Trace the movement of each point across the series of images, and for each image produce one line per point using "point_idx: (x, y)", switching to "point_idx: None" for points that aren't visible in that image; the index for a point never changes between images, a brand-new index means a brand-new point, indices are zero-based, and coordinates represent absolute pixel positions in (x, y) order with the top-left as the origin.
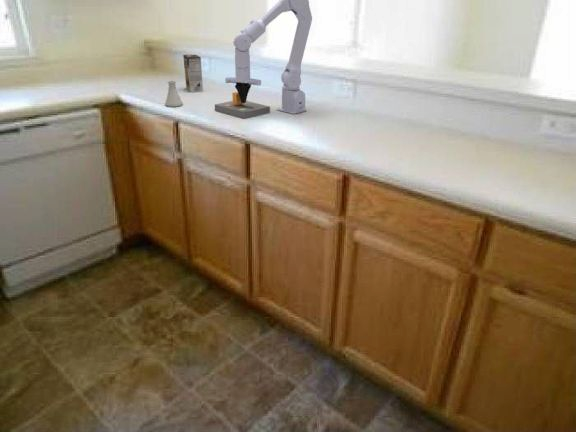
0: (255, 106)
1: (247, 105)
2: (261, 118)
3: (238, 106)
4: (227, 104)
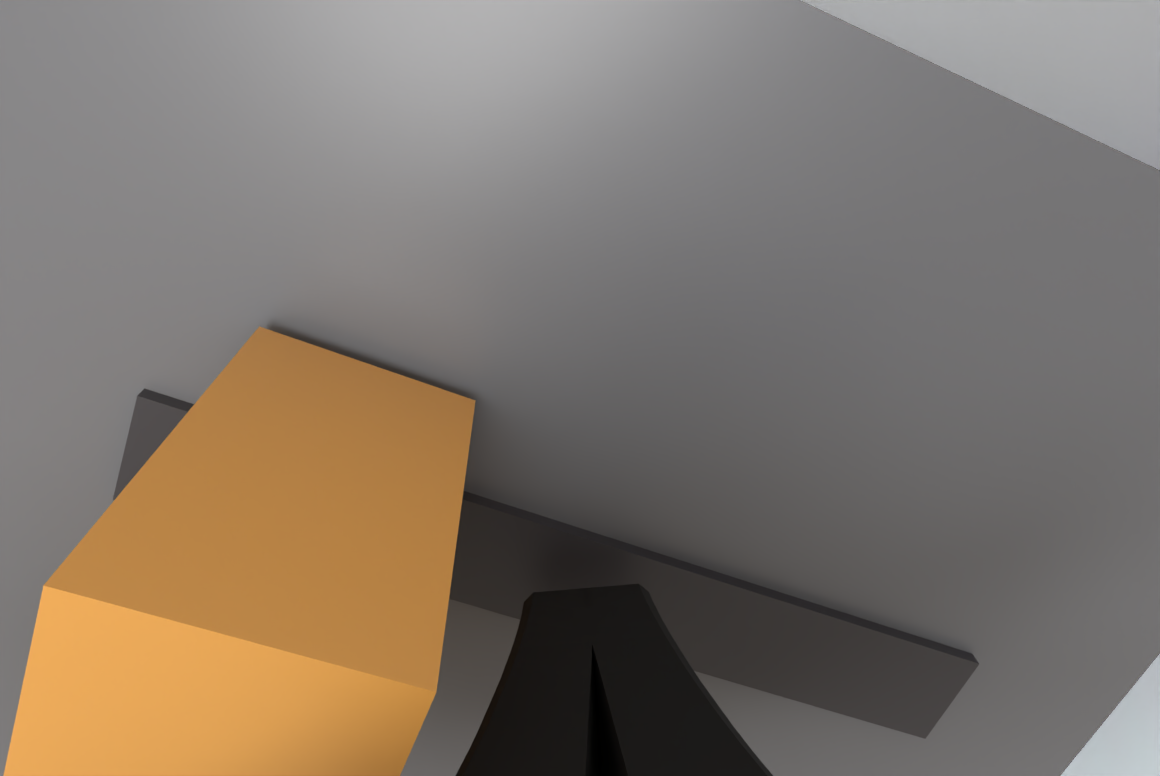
0: (958, 489)
1: (664, 485)
2: (1139, 745)
3: (465, 688)
4: (5, 629)
